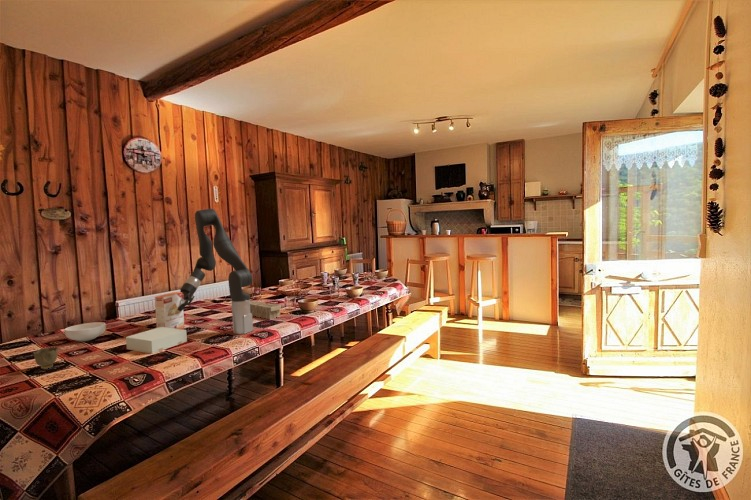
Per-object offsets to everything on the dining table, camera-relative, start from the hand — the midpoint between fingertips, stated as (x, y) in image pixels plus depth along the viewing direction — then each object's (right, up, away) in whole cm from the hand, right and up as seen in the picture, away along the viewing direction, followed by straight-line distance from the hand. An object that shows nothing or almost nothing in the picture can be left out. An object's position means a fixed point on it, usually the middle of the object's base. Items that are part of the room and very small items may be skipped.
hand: (174, 310), depth 199 cm
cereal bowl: (-40, -14, -11) cm, 43 cm away
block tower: (+39, -9, +30) cm, 50 cm away
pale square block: (+5, -13, -23) cm, 27 cm away
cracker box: (-1, -12, -1) cm, 12 cm away
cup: (-25, -16, -50) cm, 58 cm away
